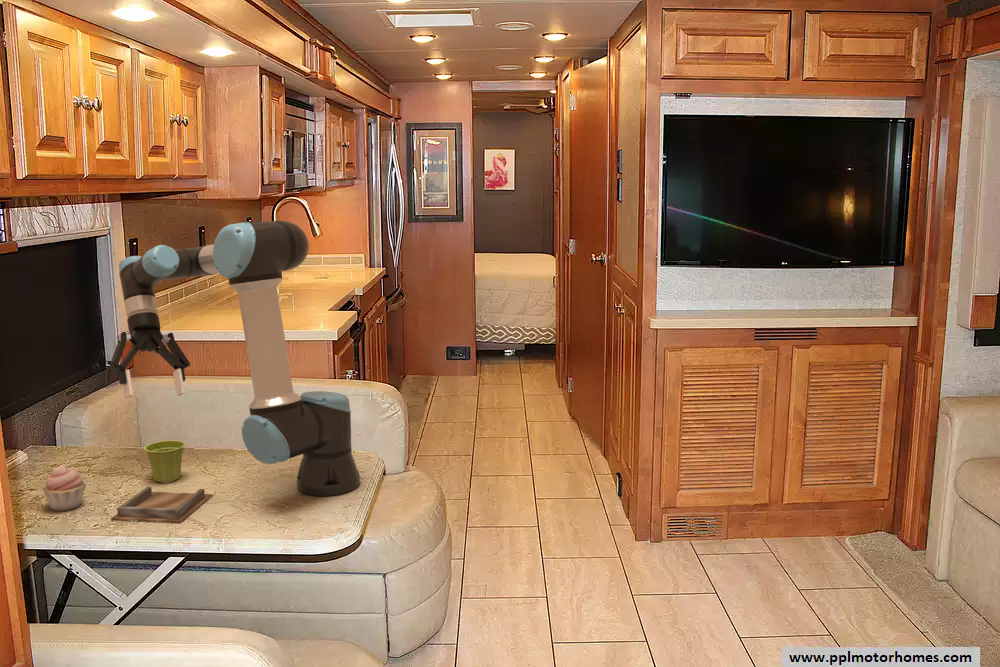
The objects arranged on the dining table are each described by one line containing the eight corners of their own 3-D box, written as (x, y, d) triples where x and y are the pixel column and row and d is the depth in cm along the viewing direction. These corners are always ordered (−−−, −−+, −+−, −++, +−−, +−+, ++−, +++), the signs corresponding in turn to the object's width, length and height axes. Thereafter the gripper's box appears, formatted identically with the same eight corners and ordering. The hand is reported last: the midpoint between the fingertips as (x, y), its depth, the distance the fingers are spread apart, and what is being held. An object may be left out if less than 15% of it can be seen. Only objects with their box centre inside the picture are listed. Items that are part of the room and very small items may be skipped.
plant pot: (147, 475, 216) (144, 442, 215) (186, 470, 220) (184, 438, 218) (147, 487, 208) (144, 453, 206) (188, 482, 211) (185, 448, 209)
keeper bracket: (212, 496, 202) (212, 486, 202) (180, 523, 187) (179, 512, 186) (148, 493, 204) (147, 483, 203) (111, 520, 188) (110, 509, 188)
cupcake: (96, 505, 197) (92, 463, 195) (54, 517, 190) (49, 474, 188) (78, 495, 203) (74, 455, 201) (36, 507, 196) (32, 465, 194)
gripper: (180, 322, 231) (193, 397, 226) (86, 319, 212) (99, 402, 207) (194, 312, 226) (208, 389, 221) (100, 309, 207) (113, 392, 202)
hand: (155, 395), depth 214 cm, fingers open, 13 cm apart
